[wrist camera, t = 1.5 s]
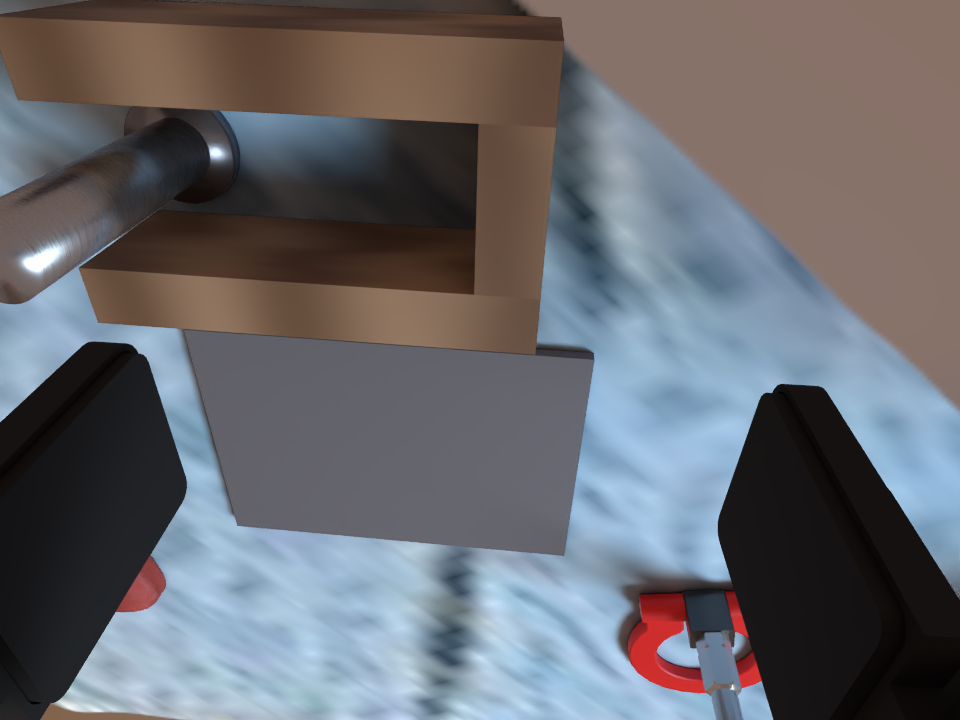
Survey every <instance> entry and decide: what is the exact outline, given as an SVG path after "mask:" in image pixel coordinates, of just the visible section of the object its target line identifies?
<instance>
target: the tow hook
mask: <svg viewBox="0 0 960 720" xmlns="http://www.w3.org/2000/svg"><path fill="white" fill-rule="evenodd" d="M639 607H640V615H641V618H642V621H641V622H639V623H638V624H637V626H636V627H635V628H634V629H633V630H632V632H631V633H630V637H629V640H628V652H629V657H630V662H631V664H632V666H633V667H634V668H635V670H636V671H637V672H638V673H639V674H640V675H642V676H643V677H644V678H646V679H647V680H649V681H650V682H653V683H655V684H658V685H660V686H662V687H665V688H669V689H673V690H678V691H682V692H693V693H707V694H709V695H710V696H711V697H712V702H713V707H714V712H715V717H716V720H743V715H742V711H741V707H740V703H739V698H738V695H739V694H740V692H741V688H744V687H747V686H750V685H754V684H756V683H758V682H760V681H762V680H761V677H760V673H759V670H758V667H757V663H756V660H755V657H754V654H753V650H752V652H751V653H750V654H749V655H748V656H747V657H746V658H744V659H742V660H741V661H739V662H737V663H735V659H734V655H733V653H732V647H734V638H735V632H738V633H740V634H742V635H744V636H746V637H748V634H747V630H746V627H745V624H744V621H743V617H742V614H741V611H740V607H739V604H738V601H737V598H736V594H735V591H724V590H721V589H720V590H695V591H683V592H682V593H673V594H647V595H640V596H639ZM683 621H686V626H687V631H688V637H689V642H690V647H691V648H697V652H698V654H699V655H698V658H699V663H700V668H701V669H690V668H684V667H680V666H676V665H673V664H671V663H669V662H666V661H665V660H664V659H662V658H661V657H660V656H659V655H658V653H657V649H658V647H659V646H660V644H661V643H662V642H663V641H664V640H666V639H668V638H669V637H671V636H673V635H676V634H678V633H681V632H682V631H683V630H684V622H683ZM748 638H749V637H748Z"/></svg>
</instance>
